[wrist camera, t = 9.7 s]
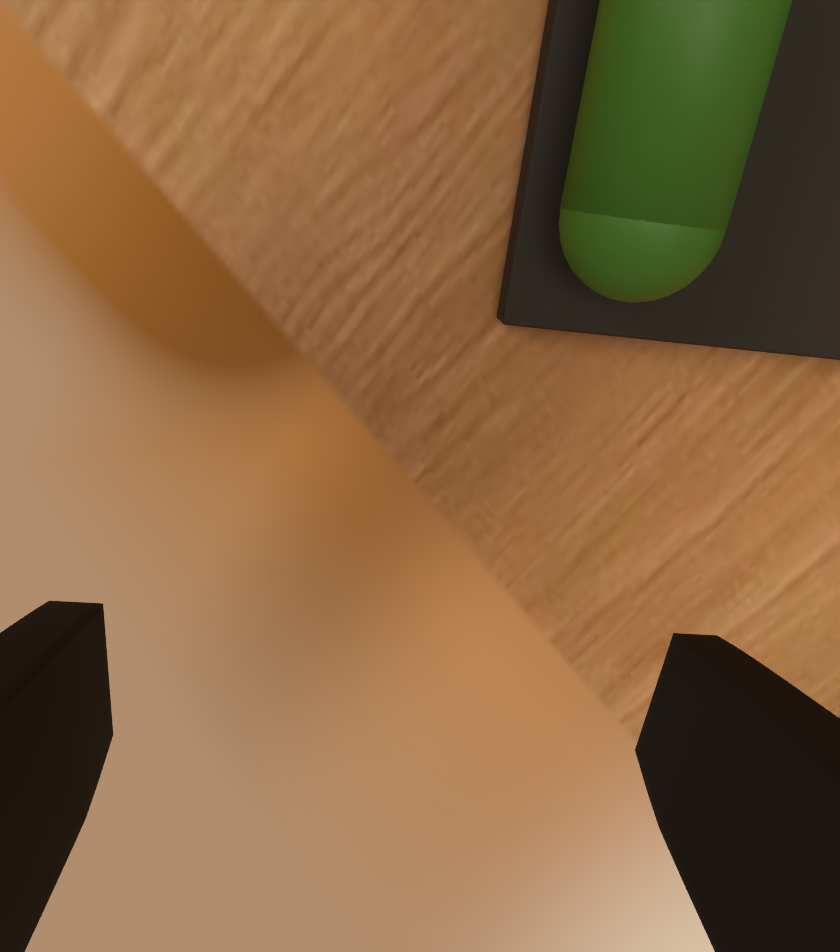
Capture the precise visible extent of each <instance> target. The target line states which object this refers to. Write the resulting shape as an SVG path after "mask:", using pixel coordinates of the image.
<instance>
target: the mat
mask: <svg viewBox="0 0 840 952" xmlns="http://www.w3.org/2000/svg"><path fill="white" fill-rule="evenodd" d="M599 1H600V0H549V4H548V10H547V16H546V22H545V28H544V34H543V40H542V46H541V53H540V59H539V65H538V71H537V77H536V83H535V89H534V95H533V101H532V107H531V113H530V119H529V125H528V131H527V137H526V143H525V149H524V155H523V161H522V167H521V173H520V179H519V185H518V191H517V197H516V203H515V209H514V215H513V221H512V227H511V233H510V239H509V245H508V251H507V257H506V264H505V270H504V276H503V282H502V288H501V294H500V300H499V306H498V312H497V318H498V319H499V320H500V321H501V322H502V323H503V324H505V325H514V326H523V327H533V328H542V329H552V330H561V331H571V332H580V333H590V334H599V335H609V336H618V337H628V338H637V339H647V340H656V341H666V342H675V343H685V344H694V345H704V346H713V347H723V348H732V349H742V350H751V351H761V352H770V353H780V354H789V355H799V356H808V357H817V358H827V359H836V360H840V0H792V3H791V7H790V10H789V14H788V17H787V21H786V24H785V28H784V31H783V35H782V38H781V42H780V45H779V49H778V52H777V56H776V59H775V63H774V66H773V70H772V73H771V77H770V80H769V84H768V87H767V91H766V94H765V98H764V101H763V105H762V108H761V112H760V115H759V119H758V122H757V126H756V129H755V133H754V136H753V139H752V143H751V146H750V150H749V153H748V157H747V160H746V164H745V167H744V171H743V174H742V178H741V181H740V185H739V188H738V192H737V195H736V199H735V202H734V206H733V209H732V213H731V216H730V220H729V223H728V227H727V230H726V233H725V236H724V238H723V241H722V243H721V246H720V248H719V250H718V251H717V253H716V255H715V256H714V258H713V260H712V261H711V263H710V264H709V265H708V266H707V267H706V269H705V270H704V271H703V272H702V273H701V274H700V275H699V276H698V277H697V278H696V279H695V280H693V281H692V282H691V283H690V284H688V285H687V286H686V287H684V288H683V289H681V290H679V291H677V292H675V293H673V294H671V295H669V296H666V297H663V298H660V299H657V300H653V301H647V302H637V303H630V302H622V301H617V300H612V299H609V298H607V297H605V296H603V295H600V294H598V293H596V292H594V291H593V290H592V289H590V288H589V287H588V286H586V285H585V284H584V283H583V282H581V280H580V279H579V278H578V277H577V276H576V274H575V273H574V272H573V271H572V269H571V267H570V266H569V264H568V262H567V260H566V258H565V256H564V252H563V249H562V246H561V242H560V233H559V217H560V206H561V201H562V195H563V190H564V185H565V180H566V174H567V169H568V164H569V159H570V153H571V148H572V143H573V138H574V132H575V127H576V122H577V117H578V111H579V106H580V101H581V96H582V91H583V85H584V80H585V75H586V70H587V64H588V59H589V54H590V49H591V43H592V38H593V33H594V28H595V22H596V17H597V12H598V7H599Z"/></svg>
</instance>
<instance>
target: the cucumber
mask: <svg viewBox="0 0 840 952" xmlns="http://www.w3.org/2000/svg"><path fill="white" fill-rule="evenodd" d="M791 3H792V0H600V1H599V7H598V12H597V17H596V22H595V28H594V33H593V38H592V43H591V49H590V54H589V59H588V64H587V70H586V75H585V80H584V85H583V91H582V96H581V101H580V106H579V111H578V117H577V122H576V127H575V132H574V138H573V143H572V148H571V153H570V159H569V164H568V169H567V174H566V180H565V185H564V190H563V195H562V201H561V206H560V217H559V233H560V242H561V246H562V249H563V252H564V256H565V258H566V260H567V262H568V264H569V266H570V267H571V269H572V271H573V272H574V273H575V274H576V276H577V277H578V278H579V279H580V280H581V282H583V283H584V284H585V285H586V286H588V287H589V288H590V289H592V290H593V291H594V292H596V293H598V294H600V295H603V296H605V297H607V298H609V299H612V300H617V301H622V302H630V303H637V302H647V301H653V300H657V299H660V298H663V297H666V296H669V295H671V294H673V293H675V292H677V291H679V290H681V289H683V288H684V287H686V286H687V285H688V284H690V283H691V282H692V281H693V280H695V279H696V278H697V277H698V276H699V275H700V274H701V273H702V272H703V271H704V270H705V269H706V267H707V266H708V265H709V264H710V263H711V261H712V260H713V258H714V256H715V255H716V253H717V251H718V250H719V248H720V246H721V243H722V241H723V238H724V236H725V233H726V230H727V227H728V223H729V220H730V216H731V213H732V209H733V206H734V202H735V199H736V195H737V192H738V188H739V185H740V181H741V178H742V174H743V171H744V167H745V164H746V160H747V157H748V153H749V150H750V146H751V143H752V139H753V136H754V133H755V129H756V126H757V122H758V119H759V115H760V112H761V108H762V105H763V101H764V98H765V94H766V91H767V87H768V84H769V80H770V77H771V73H772V70H773V66H774V63H775V59H776V56H777V52H778V49H779V45H780V42H781V38H782V35H783V31H784V28H785V24H786V21H787V17H788V14H789V10H790V7H791Z"/></svg>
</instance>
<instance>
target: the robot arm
mask: <svg viewBox="0 0 840 952" xmlns="http://www.w3.org/2000/svg"><path fill="white" fill-rule="evenodd" d="M112 737H113V726H112V713H111V701H110V689H109V675H108V662H107V649H106V636H105V624H104V611H103V604H100V603H82V602H80V603H79V602H61V601H48V602H47V603H45V604H43V605H42V606H40V607H39V608H37V609H35V610H34V611H32V612H31V613H29V614H28V615H26V616H25V617H24V618H22V619H20V620H19V621H17V622H16V623H14V624H13V625H11V626H10V627H8V628H7V629H5V630H4V631H3V632H1V633H0V952H25V949H26V947H27V945H28V943H29V941H30V939H31V937H32V934H33V932H34V930H35V928H36V926H37V924H38V921H39V919H40V917H41V915H42V913H43V911H44V909H45V906H46V904H47V902H48V900H49V898H50V896H51V894H52V891H53V889H54V887H55V885H56V883H57V880H58V878H59V876H60V874H61V872H62V869H63V867H64V865H65V863H66V861H67V859H68V856H69V854H70V852H71V850H72V848H73V846H74V843H75V841H76V839H77V837H78V834H79V832H80V830H81V827H82V825H83V823H84V821H85V818H86V816H87V813H88V810H89V807H90V804H91V801H92V798H93V795H94V793H95V790H96V787H97V784H98V781H99V778H100V775H101V771H102V768H103V765H104V762H105V759H106V756H107V752H108V749H109V746H110V743H111V740H112ZM635 751H636V755H637V758H638V762H639V765H640V768H641V772H642V775H643V779H644V782H645V786H646V789H647V792H648V795H649V798H650V801H651V804H652V807H653V810H654V813H655V816H656V820H657V822H658V826H659V828H660V830H661V833H662V835H663V837H664V840H665V842H666V844H667V847H668V849H669V851H670V853H671V856H672V857H673V860H674V862H675V865H676V867H677V869H678V871H679V874H680V876H681V878H682V880H683V882H684V885H685V887H686V889H687V891H688V894H689V896H690V898H691V900H692V902H693V904H694V907H695V909H696V911H697V913H698V916H699V918H700V920H701V922H702V924H703V926H704V929H705V931H706V933H707V935H708V937H709V940H710V942H711V944H712V946H713V948H714V951H715V952H840V718H838V717H837V716H835V715H834V714H832V713H831V712H830V711H828V710H827V709H825V708H824V707H823V706H821V705H820V704H818V703H817V702H815V701H814V700H813V699H811V698H810V697H808V696H807V695H806V694H804V693H803V692H801V691H800V690H798V689H797V688H796V687H794V686H793V685H791V684H790V683H789V682H787V681H786V680H784V679H783V678H781V677H780V676H779V675H777V674H776V673H774V672H773V671H771V670H770V669H768V668H767V667H765V666H764V665H763V664H761V663H760V662H758V661H757V660H755V659H754V658H752V657H751V656H749V655H748V654H746V653H745V652H743V651H742V650H740V649H738V648H737V647H735V646H734V645H732V644H730V643H729V642H727V641H725V640H724V639H722V638H720V637H719V636H717V635H697V634H678V633H673V636H672V639H671V642H670V645H669V648H668V651H667V654H666V658H665V661H664V664H663V667H662V670H661V673H660V676H659V679H658V682H657V685H656V688H655V691H654V694H653V697H652V700H651V703H650V706H649V709H648V712H647V715H646V718H645V721H644V724H643V727H642V730H641V733H640V736H639V740H638V743H637V746H636V749H635Z"/></svg>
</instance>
